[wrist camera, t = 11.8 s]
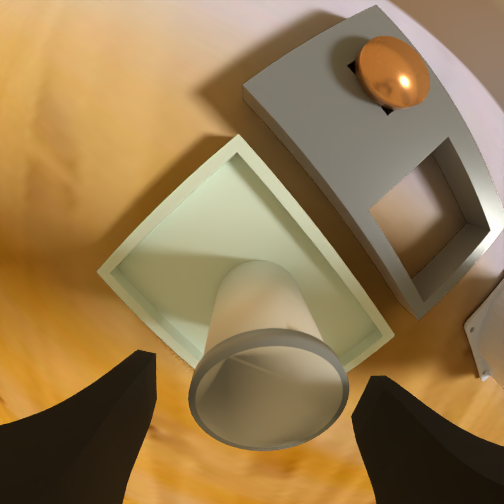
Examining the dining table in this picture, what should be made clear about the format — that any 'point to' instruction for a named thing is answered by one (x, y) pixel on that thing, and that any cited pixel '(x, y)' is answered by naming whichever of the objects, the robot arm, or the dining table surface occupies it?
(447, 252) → the housing
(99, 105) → the dining table surface
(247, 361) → the cylinder
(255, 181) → the tray
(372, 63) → the orange round piece
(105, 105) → the dining table surface
